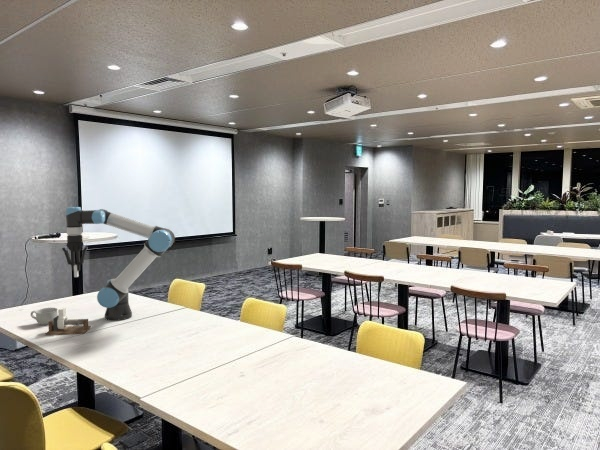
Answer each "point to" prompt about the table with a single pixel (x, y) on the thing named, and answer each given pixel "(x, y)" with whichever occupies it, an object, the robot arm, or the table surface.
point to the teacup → (45, 315)
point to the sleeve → (61, 318)
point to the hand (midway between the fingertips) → (76, 276)
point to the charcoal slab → (55, 323)
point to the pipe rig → (69, 327)
